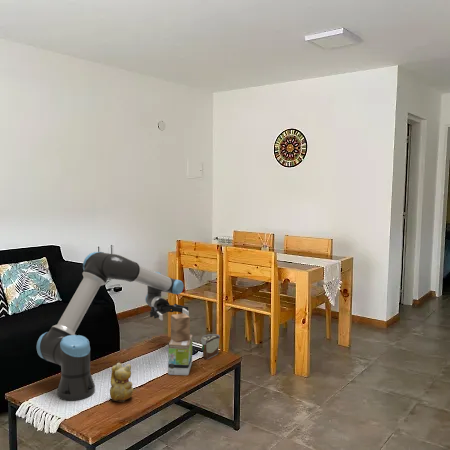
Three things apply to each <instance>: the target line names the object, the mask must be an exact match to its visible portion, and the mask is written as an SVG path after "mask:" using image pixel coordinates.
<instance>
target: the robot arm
mask: <svg viewBox="0 0 450 450" xmlns="http://www.w3.org/2000/svg"><path fill="white" fill-rule="evenodd" d="M82 269H83V272H82V273H81V274H82V276H83V278H82V279H81V282H80V283H79V285H78V287H77V288H76V289H75V290H76V291H75V293H74V294H73V296H72V298H71V299H70V301H69V303H68V305H67V306H66V308H65V310H64V311H63V313H62V315H61V317H60V318H59V320H58V322H57V324H55V325H52V326H51V327H50V329H49V331H46V332H44V333H42V334H41V335H40V336H39V338H38V340H37V342H36V351H37V355H38V356H39V357H40V358H41V359H43V360H44V361H46V362H50V363H53V364H55V365H59V366H60V368H61V370H60V371H61V378H60V380H59V384H58V387H57V397H58V396H59V397H60V398H59V397H58V398H59V399H61V398H62V399H61V400H63V399H66V400H65V401H79V399H80V400H83V399H84V400H85V399H86V398H89V397H91V396H92V395H93V394H94V393H95V391H96V385H95V382H94V379H93V376H92V374H91V346H90V341H89V339H88V338H87V337H86V336H84V335H80V334H78V335H77V334H76V331H77V330H78V328H79V326H80V325H81V322H82V320H83V319H84V316H85V314H86V313H87V312H88V310H89V307H90V305H92V302H93V300H94V298H95V296H96V295H97V293H98V291H99V289H100V287H101V286H104V285H106V284H107V282H108V280H110V279H111V280H117V281H118V280H119V281H125V282H130V283H131V282H135V283H139V284H142V285H145V286H147V294H146V295H145V299H144V300H145V303H146V304H147V305H148V306H149V307H150V308H151V309H150V312H149V313H150V314H149V316H150V318H152V317H153V318H154V319H159V320H160V321H164V317H163V315H164V314H166V313H173V312H176V313H180V314H182V313H185V314H186V315H187V316H189V315H190V312H189V306H185V305H180V304H178V303H174V304H170V302H169V301H168V300H166V299H165V298H163V297H162V292H164V293H169V294H173V295H180V294H181V293H182V292H183V290H184V282H183V281H182V280H180V279H175V278H172V277H169V276H166V275H163V274H162V272H159V271H154V270H151V269H148V268H146V267H142V266H140V264H139V263H138V262H135V261H133V260H131V259H129V258H127V257H125V256H122V255H120V254H115V253H108V252H102V251H94V252H91V253H89V254H88V255H86V256H85V258H84V260H83V263H82ZM189 317H190V316H189Z"/></svg>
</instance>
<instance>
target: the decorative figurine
mask: <svg viewBox="0 0 450 450" xmlns="http://www.w3.org/2000/svg"><path fill="white" fill-rule="evenodd" d="M131 368H132V365H131V364H130V363H127V364H126V365H125V366H123V365H122V364H121V363H120V362H117V363H116V364H115V365H114V364H113V366H111V375H110V385H111V387H110V389H109V395H110V399H111V401H113V402H119V403H120V402H121V403H124V402H125V401H126V400H129V399H130V398H131V397H132V396H133V392H134V388H133V382H132V381H130V378H131V377H132V372H131V371H132V370H131Z"/></svg>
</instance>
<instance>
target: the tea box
mask: <svg viewBox="0 0 450 450" xmlns="http://www.w3.org/2000/svg"><path fill="white" fill-rule="evenodd" d="M167 359H168V360H167V362H168V363H167V374H168V375H171V376H172V375H173V376H189V374H190V371H191V367H192V364H193V334H190V340H188V341H182V342H175V341H174V340H173V339H172V338H171V337H170V341H169V342H168V357H167Z"/></svg>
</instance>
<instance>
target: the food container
mask: <svg viewBox="0 0 450 450" xmlns="http://www.w3.org/2000/svg"><path fill="white" fill-rule="evenodd" d="M220 339H221V336H220V334H219V333H218V334H216V333H209V334H204V335H203V336H201V339H200V343H201V345H202V357H203V359H204V360H209V359H211V358H213V357H215V356H217V355H219V349H220V346H219V345H220Z"/></svg>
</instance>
